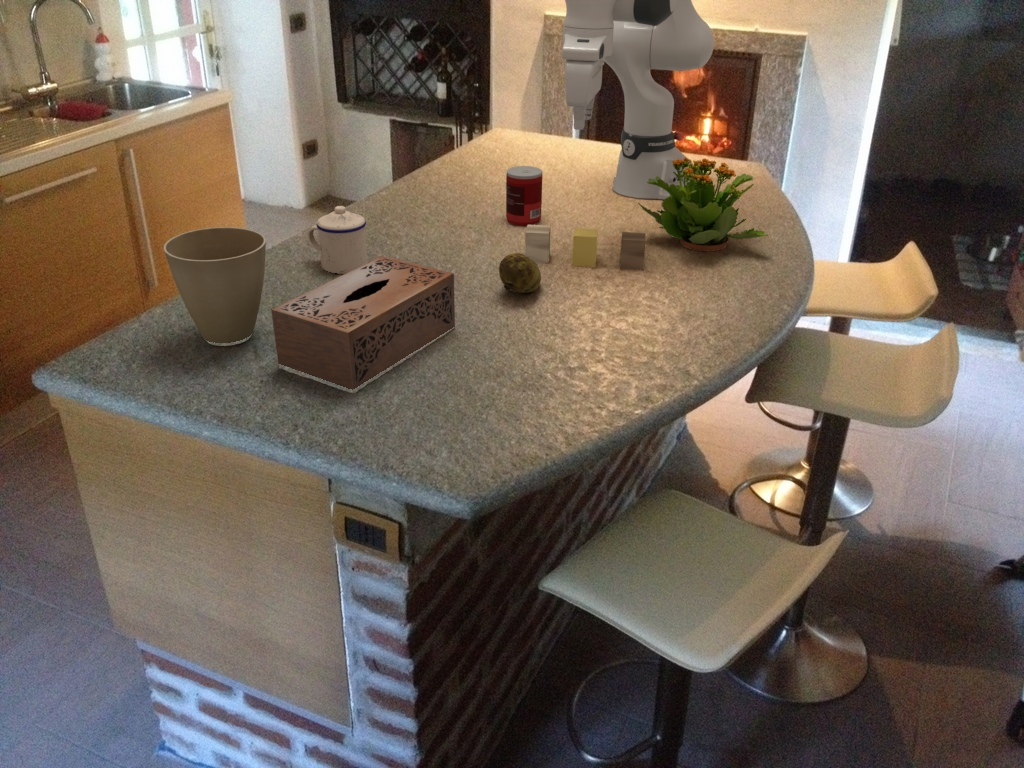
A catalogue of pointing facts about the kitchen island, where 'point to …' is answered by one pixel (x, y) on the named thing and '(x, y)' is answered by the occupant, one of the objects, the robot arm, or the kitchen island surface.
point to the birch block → (537, 243)
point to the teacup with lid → (340, 241)
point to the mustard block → (584, 247)
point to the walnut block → (632, 251)
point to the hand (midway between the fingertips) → (582, 123)
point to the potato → (519, 273)
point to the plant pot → (219, 279)
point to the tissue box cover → (364, 320)
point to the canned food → (523, 195)
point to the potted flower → (701, 206)
